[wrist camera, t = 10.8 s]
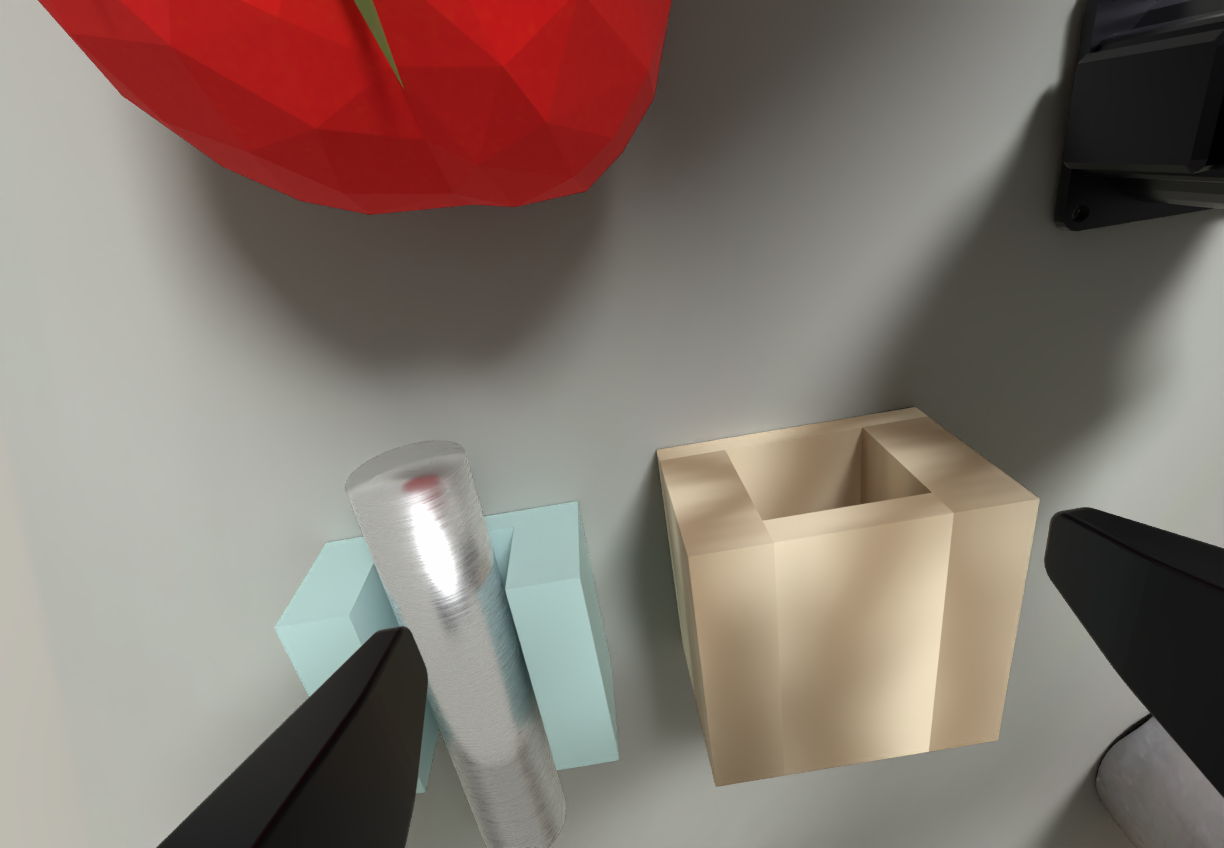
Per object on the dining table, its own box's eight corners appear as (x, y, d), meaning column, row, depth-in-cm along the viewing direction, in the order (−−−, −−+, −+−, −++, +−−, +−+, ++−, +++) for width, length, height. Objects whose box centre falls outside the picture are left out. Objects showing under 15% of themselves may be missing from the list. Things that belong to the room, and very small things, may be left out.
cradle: (577, 501, 21) (579, 577, 18) (611, 666, 25) (619, 760, 21) (326, 542, 21) (274, 628, 18) (394, 701, 25) (362, 802, 21)
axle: (359, 454, 19) (331, 511, 16) (469, 432, 19) (461, 484, 16) (483, 786, 25) (479, 872, 22) (562, 766, 26) (569, 848, 23)
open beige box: (915, 407, 21) (1039, 499, 15) (902, 608, 24) (997, 740, 19) (656, 449, 21) (687, 556, 15) (682, 644, 24) (715, 786, 19)
